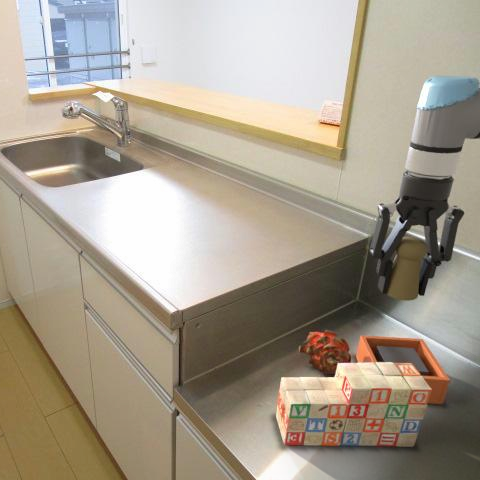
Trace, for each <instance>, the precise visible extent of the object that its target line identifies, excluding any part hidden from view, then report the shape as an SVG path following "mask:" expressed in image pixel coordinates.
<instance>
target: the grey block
mask: <svg viewBox="0 0 480 480" xmlns="http://www.w3.org/2000/svg"><path fill="white" fill-rule="evenodd" d="M375 358H376V360H377V362H393V363H412V364H413V365H414V367H415V368H416V369H417V371H418V372H419V373H420V375H421V376H428V373H429V371H428V370H427V368H426V367H425V365H424V363H423V362H422V360H421V359H420V357H419V355H418V354H417V352H416V351H415V349H414V348H404V347H388V346H377V348H376V352H375Z"/></svg>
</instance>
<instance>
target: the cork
mask: <svg viewBox="0 0 480 480" xmlns="http://www.w3.org/2000/svg"><path fill="white" fill-rule="evenodd" d="M394 253H395V257H394V259H393V260H392V262H393V267H392V271H391V275H390V280H389V284H388V289H387V293H386V294H385V295H387V296H388V297H391V298H393V299H395V300H399V301H414V300H416V299H418V297H419V294H418V290H419V278H420V267H421V260H422V258H425V256H426V255H427V246H426V242H425V241H424V240H422V239H420V238H417V237H414V236H404V237H403V238H402V240H401V242H400V243H399V245H398V247H397V248H396V250H395V252H394Z"/></svg>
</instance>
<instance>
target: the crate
mask: <svg viewBox="0 0 480 480" xmlns="http://www.w3.org/2000/svg"><path fill="white" fill-rule="evenodd" d="M377 346H388V347H404V348H414V349H415V351H416V352H417V354H418V355H419V357H420V359H421V360H422V362H423V363H424V365H425V367H426V368H427V370H428V371H429V373H428V376H422V377H423V378H424V380H425V381H426V383H427V384H428V385H429V387H430V388H431V394H430V397H429V400H428V403H427V404H434V405H444V402H445V398H446V395H447V392H448V389H449V386H450V384H451V379H450V377H449V376H448V375H447V373H446V371H445V370H444V369H443V367H442V365H441V364H440V363H439V361H438V359H437V358H436V357H435V355H434V354H433V352H432V350H431V349H430V347H429V346H428V345H427V343H426V341H425V340H424V339H423V338H413V337H412V338H410V337H395V336H378V335H360V336H359V342H358V346H357V350H356V355H355V358H356V360H357V363H369V362H373V363H376V362H377V360H376V358H375V352H376V348H377Z"/></svg>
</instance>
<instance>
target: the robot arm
mask: <svg viewBox="0 0 480 480" xmlns="http://www.w3.org/2000/svg"><path fill="white" fill-rule="evenodd" d="M479 81H480V80H479V78H477V77H475V76H466V75H465V76H464V75H435V76H431V77H429V78H428V79H426V80H425V81H424V84H423V86H422V89H421V91H420V94H419V95H420V97H419V99H418V103H417V105H416V114H415V117H414V124H413V128H412V134H411V139H410V144H409V147H408V151H407V156H406V160H405V165H404V169H405V170H406V171H404V172H403V173H402V178H401V183H400V187H399V195H398V196H397V198H396V200H395V201H394V202H393V203H389V204H384V203H383V202H382V203H379V204H378V205H377V211H378V213H377V214H378V217H377V220H376V224H375V227H374V231H373V234H372V235H373V236H372V239H371V242H370V245H369V250H368V251H369V253H370V254H371V256H372V258H373V259H378V260H377V265H376V270H375V271H376V274H377V275H378V276H379V278H378V284H377V288H378V289H379V291H380V292H381V294H385V295H387V294H386V293H387V289H388V284H389V280H390V275H391V271H392V267H393V260H392V257H393V255H394V253H395V250H396V248H397V247H398V245H399V243H400V242H401V240H402V238H403V237H405V236H406V234H407V232H409V231H410V230H411V228H412V227H415V226H422V227H423V232H424V240H425V241H424V242H425V243H426V246H427V252H426V257H423V258H422V259H421V267H420V278H419V290H418V296H420V297H421V296H422V297H424V296H425V293H426V289H427V287H428V283H429V279H430V280H431V279H433V278H434V277H435V274H436V270H437V267H441V265H442V262H446V263H448V262H450V261H451V260H452V256H453V253H454V247H455V244H456V243H455V242H456V237H457V233H458V229H459V223H460V222H461V220H462V218H463V217H464V215H465V211H464V210H463V209H462V208H460V207H459V206H457V205H449V200H448V199H449V198H450V195H451V191H452V188H453V184H454V181H455V179H454V177H453V176H454V175H456V173H457V170H458V169H457V168H458V165H459V162H460V159H461V153H462V150H463V147H464V143H465V141H466V139H467V140H468V139H469V140H476V139H477V140H480V82H479ZM395 211H397V213H398V217H397V219H396V221H395V223H394V224H395V225H394V226H393V227H392V230H391V232H390V233H389V235H388V237H387V238H386V236H387V234H388V229H389V227H390V224H391V223H390V222H391V218H392V217H393V216H394V213H395ZM443 215H444V221H443V226H442V231H441V236H440V241H439V240H438V221H437V220H438V219H440V217H442V216H443Z"/></svg>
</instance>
